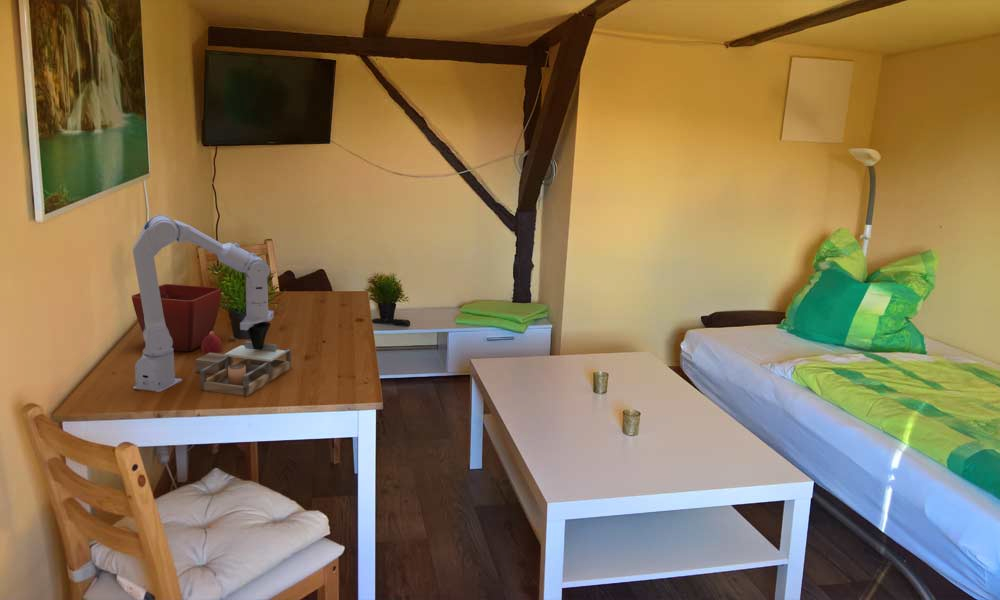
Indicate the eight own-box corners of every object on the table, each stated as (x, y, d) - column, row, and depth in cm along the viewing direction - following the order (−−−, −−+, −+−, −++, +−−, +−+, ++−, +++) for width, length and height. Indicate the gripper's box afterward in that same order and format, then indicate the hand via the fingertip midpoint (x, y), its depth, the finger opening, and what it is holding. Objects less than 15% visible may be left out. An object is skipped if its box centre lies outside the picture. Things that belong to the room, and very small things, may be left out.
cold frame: (247, 397, 187) (246, 376, 186) (200, 391, 189) (200, 370, 188) (291, 368, 210) (290, 349, 209) (249, 363, 212) (249, 344, 211)
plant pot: (167, 334, 236) (165, 282, 232) (224, 338, 234) (223, 287, 230) (132, 351, 217) (129, 296, 213) (194, 356, 216) (192, 301, 212)
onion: (218, 361, 213) (217, 335, 211) (198, 360, 213) (197, 333, 211) (225, 355, 218) (225, 329, 216) (206, 354, 218) (205, 328, 217)
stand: (218, 376, 201) (218, 362, 200) (195, 373, 202) (195, 359, 201) (232, 368, 207) (232, 355, 206) (210, 365, 209) (209, 352, 208)
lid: (270, 361, 197) (270, 353, 196) (224, 355, 199) (224, 347, 199) (285, 352, 205) (285, 344, 205) (241, 347, 207) (241, 339, 207)
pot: (240, 388, 192) (240, 370, 191) (225, 386, 193) (224, 368, 191) (249, 383, 196) (248, 365, 195) (234, 381, 197) (233, 363, 196)
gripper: (256, 308, 192) (257, 357, 196) (283, 296, 206) (283, 343, 209) (232, 305, 194) (233, 354, 197) (260, 294, 208) (261, 340, 211)
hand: (258, 348), depth 203 cm, fingers closed
